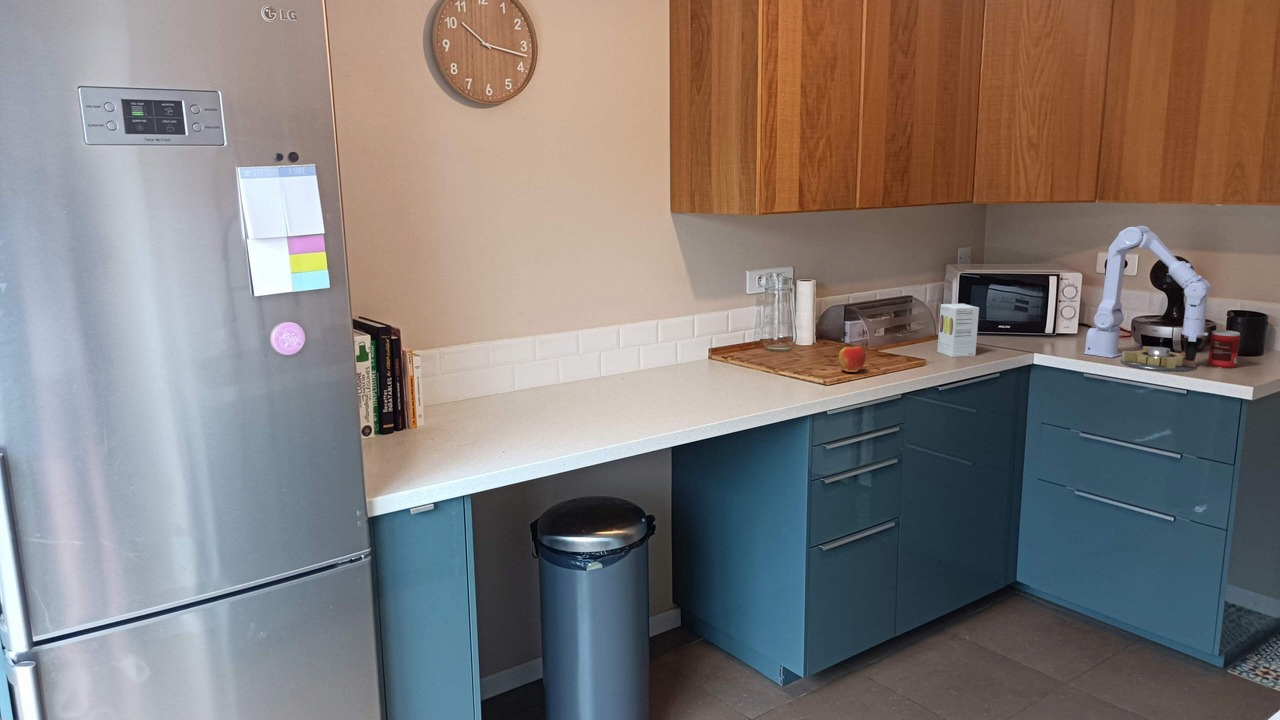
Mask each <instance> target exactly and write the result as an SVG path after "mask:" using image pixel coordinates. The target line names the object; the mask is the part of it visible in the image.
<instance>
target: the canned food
mask: <svg viewBox="0 0 1280 720" xmlns="http://www.w3.org/2000/svg"><path fill="white" fill-rule="evenodd" d="M1210 337H1211V338H1210V342H1209V343H1210V345H1209V350H1208V353H1209V354H1208V360H1207V361H1208V362H1207V363H1208V365H1209V366H1210V365H1211V366H1210V367H1213V366H1214V368H1218V367H1222V368H1221V369H1234V368H1236V366H1237V364H1238V363H1237V362H1238V354H1239V347H1240V340H1241V339H1240V338H1241V333H1240V332H1238V331H1234V330H1227V329H1226V330H1225V329H1215V330H1212V331H1211V336H1210Z"/></svg>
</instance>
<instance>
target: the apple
mask: <svg viewBox="0 0 1280 720" xmlns="http://www.w3.org/2000/svg"><path fill="white" fill-rule="evenodd" d="M850 342H851V344H853V341H852V340H850ZM866 358H867V357H866V352H865V350H864V348H863V347H862V346H860V345H856V346H845V347H843V348H842V349H841V350H840V351H839V354H838V361H839V366H840V368H841V369H842V368H843V369H848V370H859V369H863V367H864V365H865V363H866ZM843 369H842V370H843Z"/></svg>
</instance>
